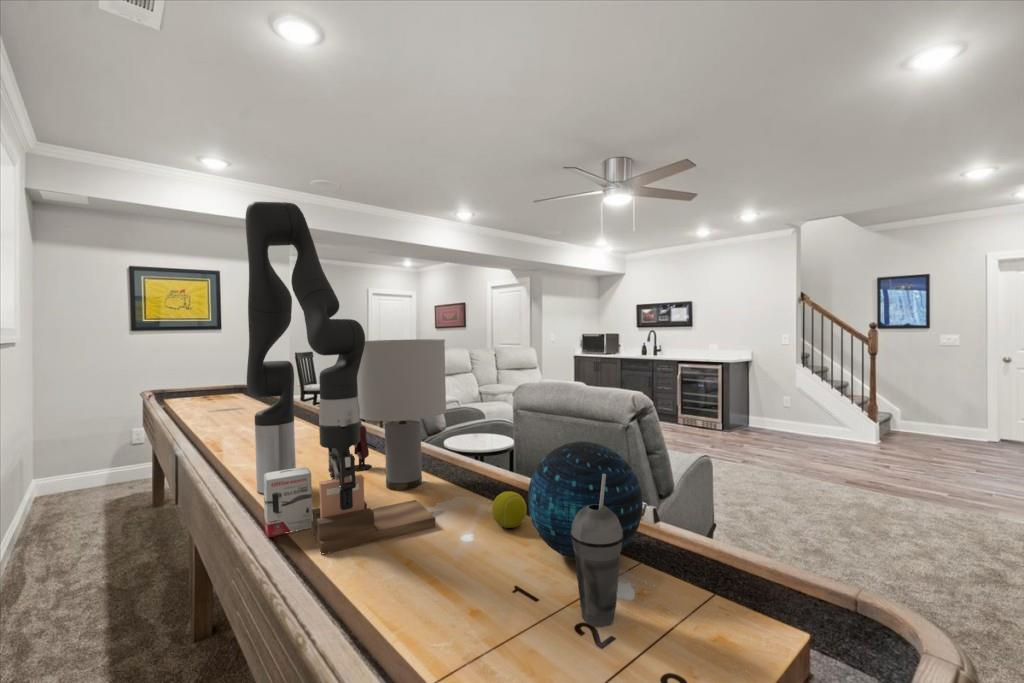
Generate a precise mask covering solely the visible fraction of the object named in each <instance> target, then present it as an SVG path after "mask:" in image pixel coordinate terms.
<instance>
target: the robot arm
mask: <svg viewBox="0 0 1024 683" xmlns="http://www.w3.org/2000/svg"><path fill="white" fill-rule="evenodd" d="M244 219H245V220H244V221H245V234H246V237H245V238H246V245H247V261H248V296H247V319H248V355H247V367H246V368H247V369H246V389H247V393H248V394H249V396H251V397H253V398H258V399H259V398H270V397H272V398H273V397H279V399H278V400H277V402H275V403H274V404H273V405H271V406H269V407H267V408H264V409H261V410H259V411H258V412H256V413H255V415H254V437H255V439H254V442H255V443H254V444H255V470H256V471H255V472H256V492H257V493H260V494H264V474H266V473H269V472H275V471H282V470H288V469H294V468H297V467H296V433H295V406H294V402H295V401H294V400H295V399H294V398H295V397H294V395H295V370H294V365H293V364H292V362H291V361H289V360H271V361H270V360H268V361H266V360H265V359H266V357H267V354H268V352H269V351H270V350H271V349H272V347H273V346H274V345H275V344H276V342H277V341H278V340H279V339H280V338H281V337H282V336H283V335H284V334H285V332H286V331H287V330H288V328H289V326H290V324H291V321H292V311H293V310H292V309H293V308H292V307H293V297H292V294H291V292H290V290H289V288H288V287H287V285H286V284H285V282H283V280H282V278H281V277H279V274H277V272H276V271H275V269H274V267H273V266H272V264H271V262H270V259H269V247H275V246H276V247H277V246H279V247H280V246H281V247H282V246H293V247H294V248H295V249H296V253H297V256H296V261H295V264H294V267H293V270H292V273H291V282H290V283H291V288H292V291H293V293H294V296H295V297H296V300H297V302H298V303H299V306H300V308H301V310H302V313H303V316H304V321H305V322H304V323H305V328H306V337H307V338H306V339H307V343H308V345H309V347H310V349H311V350H312V351H313V352H315V353H317V355H321V356H337V355H338V357H337V360H336V361H335V363H334V365H332V366H329V367H327V368H324V369H322V370H320V372H319V376H318V377H319V383H318V384H319V405H318V406H319V407H318V423H319V425H318V428H319V445H320V446H321V447H322V448H326V449H327V450H328V451H327V452H328V454H327V455H328V469H327V470H328V473H329V477H330V479H331V480H332V479H336V480H338V483H339V490H340V508H341V510H347V509H351V508H352V507H353V495H352V489H353V488H355V487H356V483H355V476H356V472H355V465H356V462H355V461H356V459H355V455H353V453H351V451H350V448H351V447H352V446H354V445H356V444H358V443H359V442H360V410H359V402H358V385H357V375H358V371H359V367H360V363H361V359H362V355H363V351H364V346H365V341H366V335H365V334H366V333H365V330H364V328H363V326H362V324H361V323H360V322H359V321H358V320H355V319H350V318H332V317H334V316H335V315H336V314H337V313H338V311H339V310H340V301H339V299H338V297H337V295H336V293H335V291H334V289H333V287H332V285H331V283H330V282H329V280H328V278H327V277H326V274H325V271H324V269H323V267H322V264H321V262H320V259H319V256H318V252H317V249H316V246H315V243H314V240H313V237H312V234H311V231H310V227H309V225H308V223H307V220H306V219H307V218H306V217H305V215H304V213H303V211H302V210H301V208H300V207H299V206H298V205H297V204H295V203H293V202H286V201H285V202H284V201H251V202H250V203H248V205H247V207H246V211H245V218H244ZM345 478H348V479H349V482H347V483H344V479H345Z"/></svg>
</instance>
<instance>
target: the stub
mask: <svg viewBox="0 0 1024 683" xmlns="http://www.w3.org/2000/svg"><path fill="white" fill-rule="evenodd" d="M347 482H349V479H348V478H345V479H344V483H347ZM355 483H356V487H355V488H353V489H352V495H353V507H352V508H351V509H347V510H341V508H340V490H339V483H338V480H336V479H332V478H331V479H327V480H321V481H319V486H318V487H319V508H320V518H324V517H328V516H333V515H338V514H343V513H348V512H353V511H358V510H363V509H364V501H365V481H364V475H362V474H358V475H357V474H355Z"/></svg>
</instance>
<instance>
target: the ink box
mask: <svg viewBox="0 0 1024 683" xmlns="http://www.w3.org/2000/svg"><path fill="white" fill-rule="evenodd" d="M312 488H313V487H312V472H311V470H310V468H309V467H307V466H301V467H296V468H294V469H288V470H282V471H275V472H269V473H266V474H264V493H263V499H264V500H263V503H264V504H263V508H264V514H263V515H264V517H263V518H264V532H265V534H266V536H267V538H269V539H270V538H273V537H277V536H278V537H279V536H282V535H285V534H284V533H285V532H290V531H296V530H300V531H303V530H302V529H305V530H308V528H309V529H312V521H313V516H312V509H313V498H312V497H313V494H312ZM296 532H297V531H296Z"/></svg>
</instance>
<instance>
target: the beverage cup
mask: <svg viewBox="0 0 1024 683" xmlns="http://www.w3.org/2000/svg"><path fill="white" fill-rule="evenodd" d="M605 480H606V474H602V484H601V494H600V503H599V504H592V505H588V506H586V507H584V508H582V509H581V510H580V511H579V512H578V513H577V515H576V516H575V518H574V520H573V523H572V530H571V533H570V534H571V538H572V543H573V548H574V551H575V558H576V560H575V567H576V575H577V586H578V587H577V588H578V595H579V596H578V597H579V598H578V599H579V607H580V611H581V618H582V620H583V622H584V623H586V624H587V625H589V626H591V627H596V628H604V627H609V626H610V625H612V624H613V623H614V622H615V619H616V618H615V614H616V609H617V599H618V598H617V596H618V587H619V586H618V583H619V572H620V571H619V570H620V556H621V552H622V550H621V548H622V541H623V538H624V537H623V534H622V528H621V525H620V522H619V520H618V518H617V516H616V515H615V514H614V513H613V512H612V511H611V510H610V509H609V508H607V507H605V506H603V500H604V490H605Z"/></svg>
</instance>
